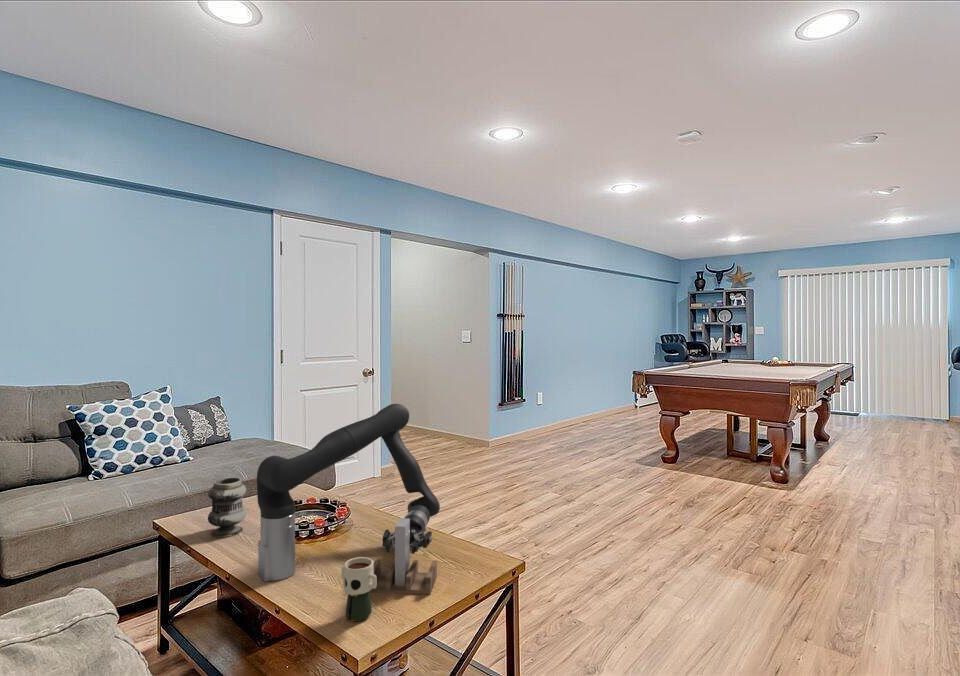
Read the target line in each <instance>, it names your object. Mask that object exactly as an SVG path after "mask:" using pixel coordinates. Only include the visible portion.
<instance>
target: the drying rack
mask: <svg viewBox="0 0 960 676" xmlns="http://www.w3.org/2000/svg"><path fill="white" fill-rule="evenodd" d="M381 561H382V560H381V558H376V559H375V560H374V561H373V563H374V575H376V577H377V586H376V588H375V589H373V588H372V589H371V590H370V591H369V593H389V594H392V593H393V594H409V595H410V594H413V595H416V594H417V595H430V594H432V592H433V589H434V585H435V584H436V583H435V582H436V579H437V577H438V576H437V575H438V573H437V572H438V567H437V566H438V564H437V563H438V561H437V560H432V562H431V563H430V566H429V569H428V570H427V571H428V572H419V560H418V559H413V560H412V563H411V565H410V569H409V571H408V573H407V575H406V585H405V586H397V585H395V559H394V561H393V562H392V564H391V566H390V568H389V570H381V569H382V567H381V564H382V563H381Z"/></svg>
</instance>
